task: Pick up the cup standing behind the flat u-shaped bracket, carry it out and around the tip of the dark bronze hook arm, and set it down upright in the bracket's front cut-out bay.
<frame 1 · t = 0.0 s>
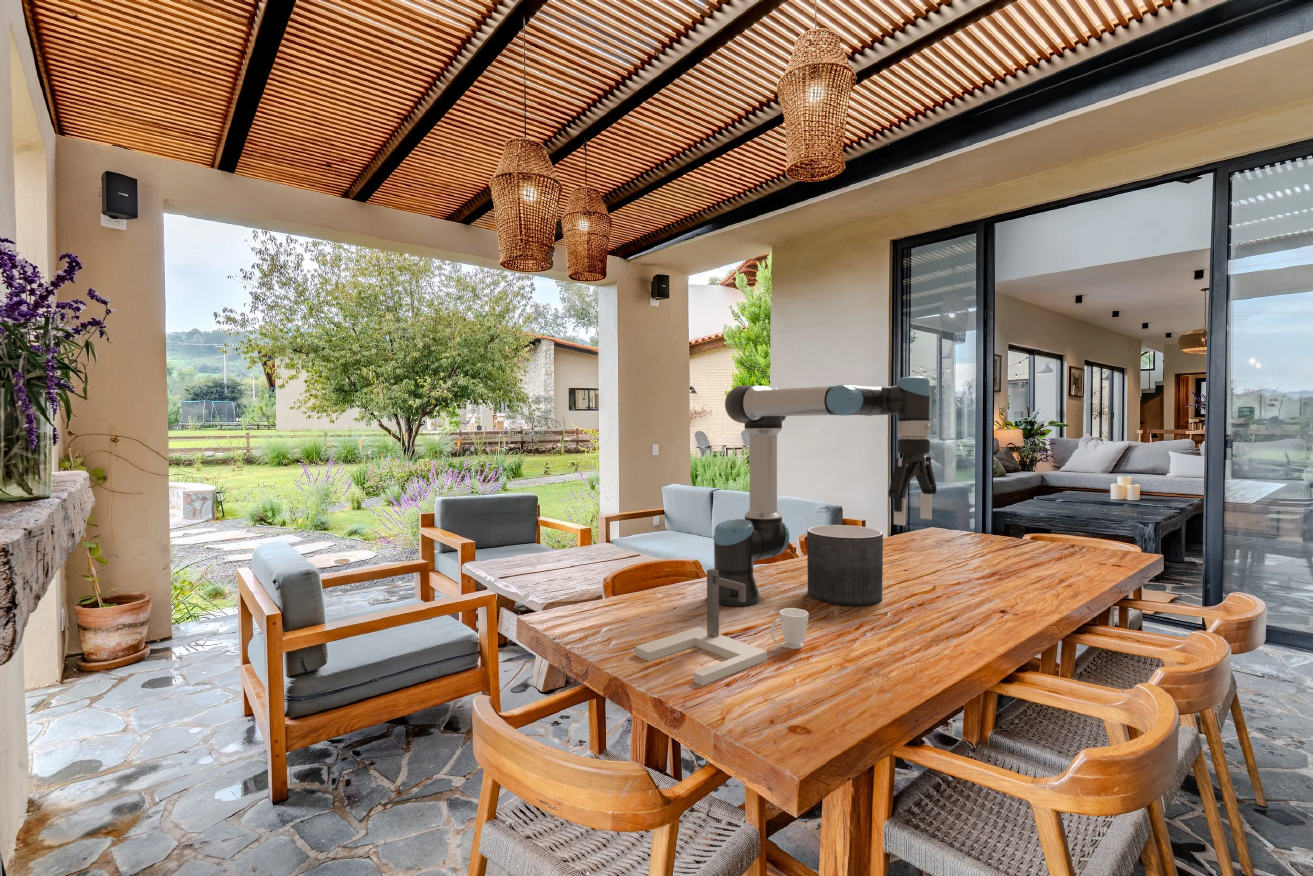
hand: (913, 521, 156), 28 cm above the table, fingers open, 13 cm apart
cup: (788, 647, 147), on the table
hook arm: (713, 644, 149), resting on flat u-shaped bracket
flat u-shaped bracket: (699, 657, 140), on the table
planter: (844, 596, 189), on the table
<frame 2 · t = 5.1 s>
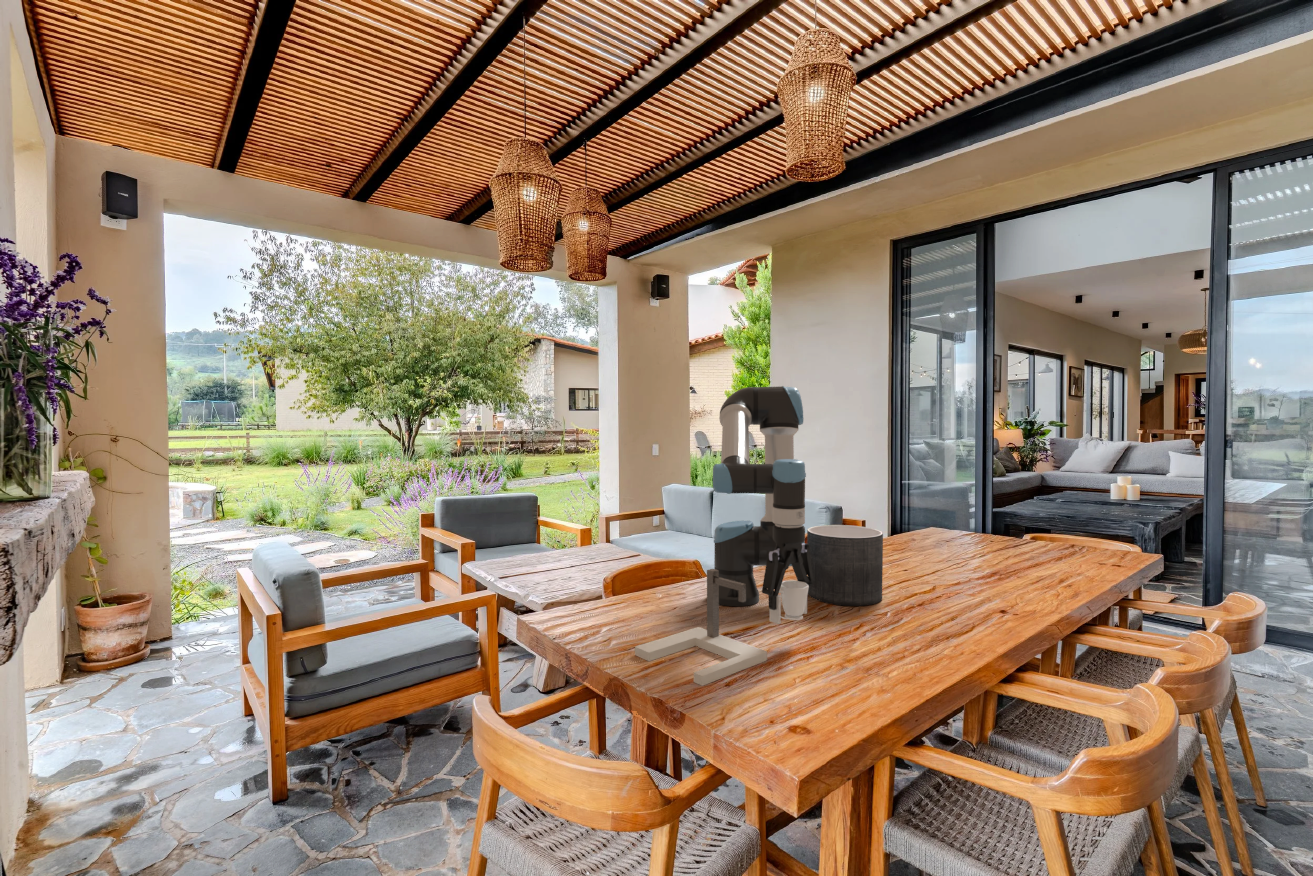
hand: (788, 617, 147), 7 cm above the table, fingers closed on cup, 9 cm apart
cup: (788, 619, 148), point 6 cm above the table, touching gripper
everything else where it was.
when the fingers open (0 cm above the table, at t = 11.8 s): cup stays where it is, on the table.
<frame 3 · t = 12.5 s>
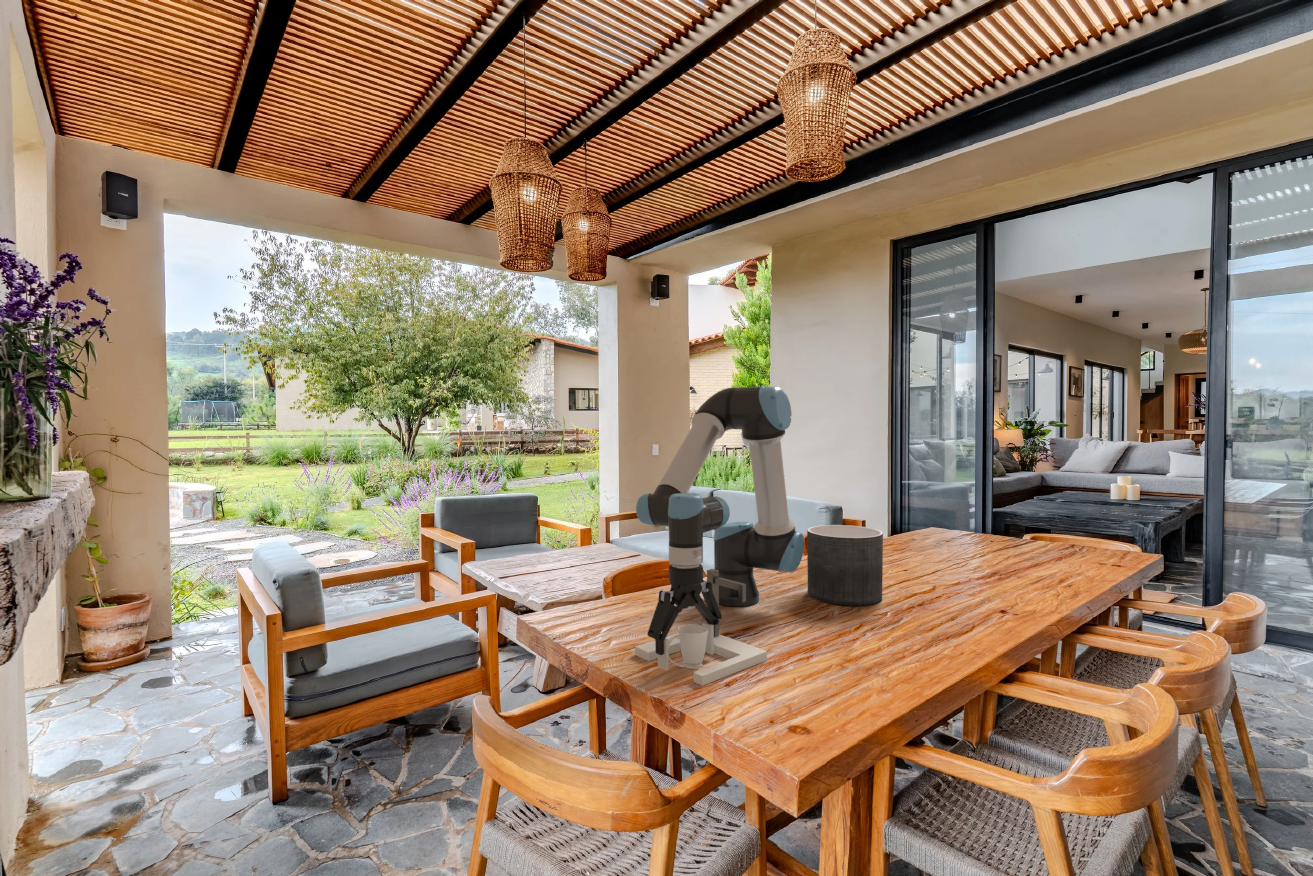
hand: (686, 660, 135), 1 cm above the table, fingers open, 13 cm apart
cup: (686, 667, 136), on the table
everything else where it was.
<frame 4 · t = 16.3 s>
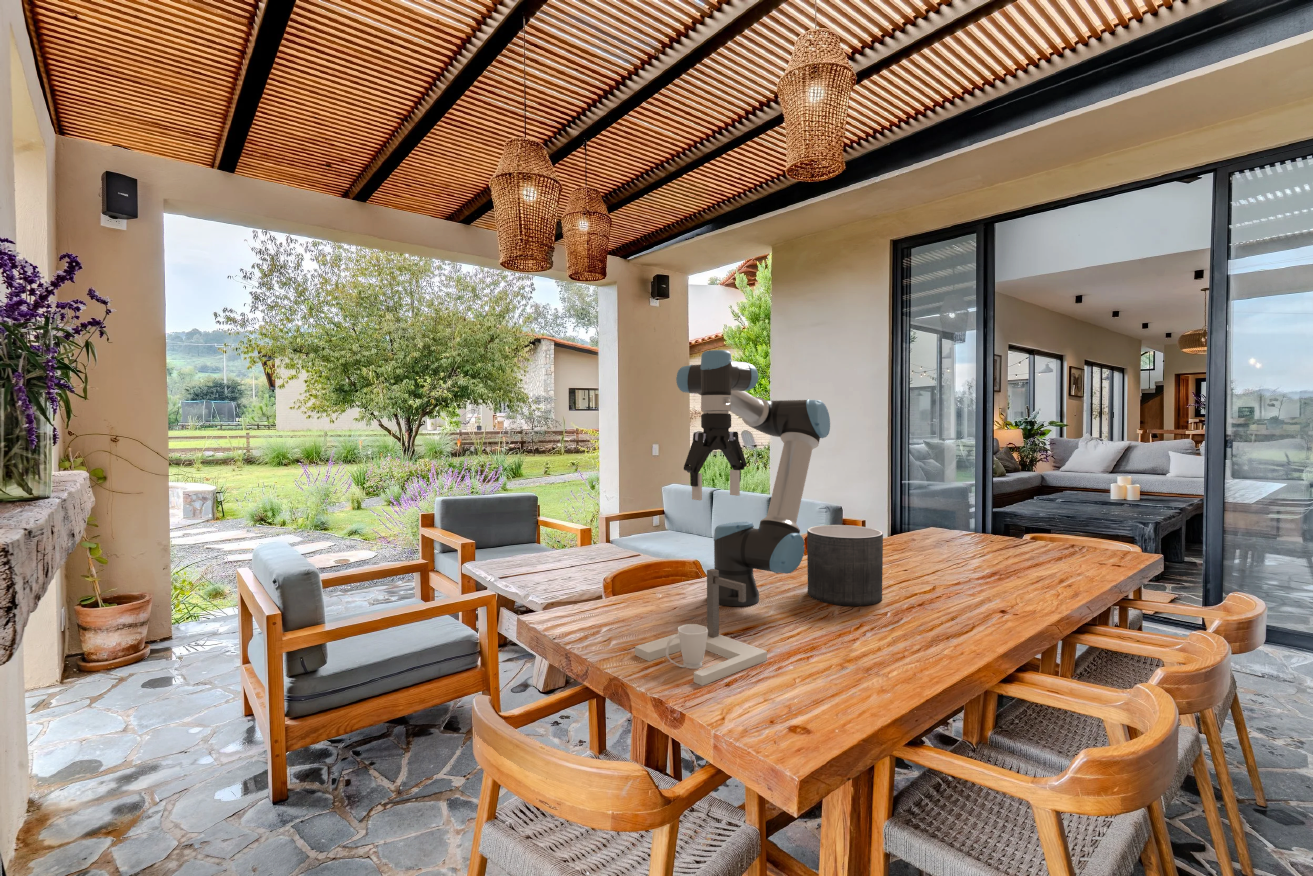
hand: (716, 497, 154), 35 cm above the table, fingers open, 13 cm apart
nothing on the table moved.
at the end: cup inside the target area (0.8 cm from its centre), on the table; cup tilted 0°; the gripper is holding nothing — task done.
